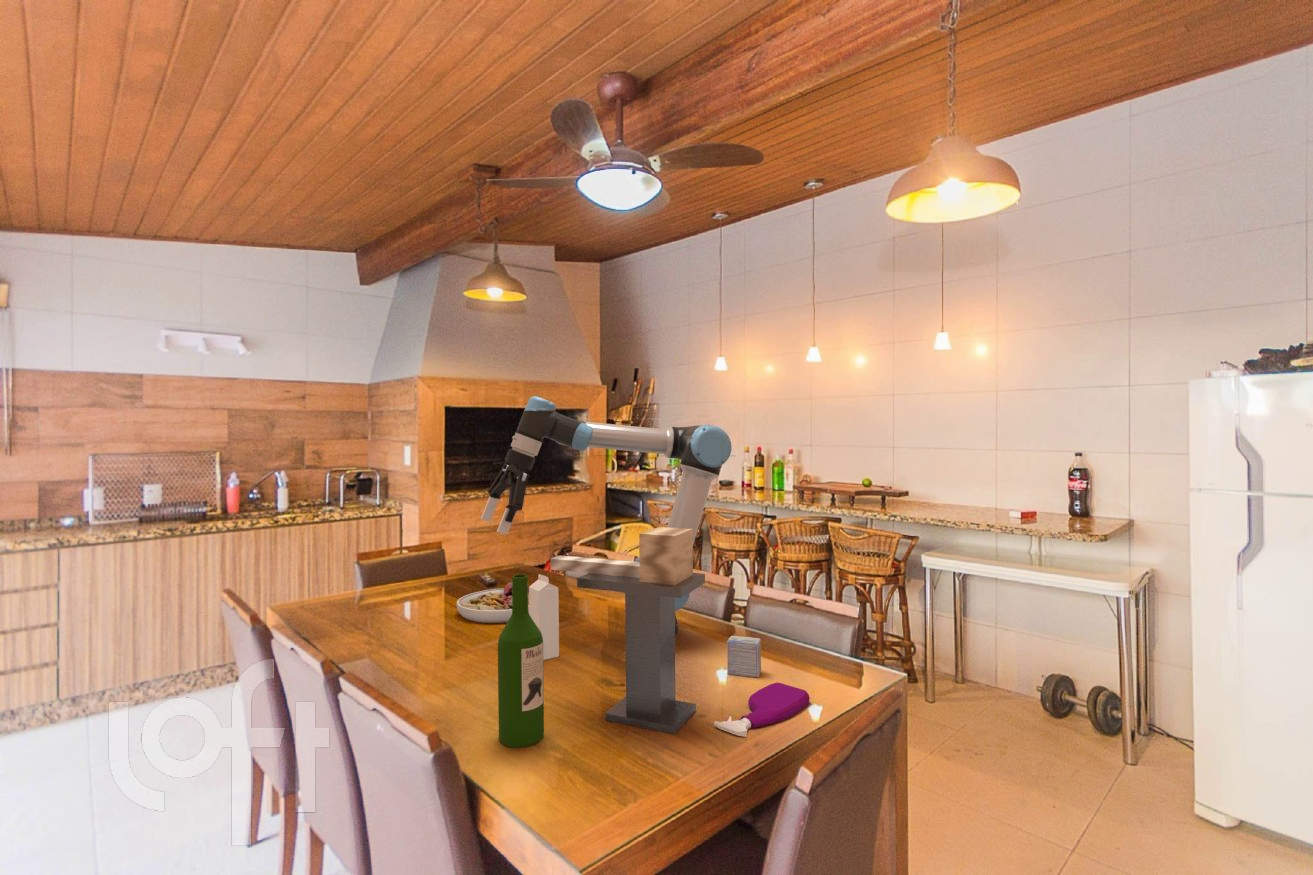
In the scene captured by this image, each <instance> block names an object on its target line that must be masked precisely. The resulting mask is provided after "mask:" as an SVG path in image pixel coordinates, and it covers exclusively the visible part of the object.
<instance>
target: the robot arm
mask: <svg viewBox="0 0 1313 875" xmlns="http://www.w3.org/2000/svg"><path fill="white" fill-rule="evenodd" d="M556 409H557V405H556V403H554V402H552V401H550V400H547V399H545V398H542V397H540V396H536V395H535V396H531V397H530V398H529V399H528V401H527V404H526V406H525V408H524V410H523V413H522V416H521V418H520V420H519V423H518V426H517V429H516V431H515V434H514V435H513V436H512V437H511V439H512V442H511V443H510V447H512V448H509V449H508V450H507V453H506V456H505V457H504V460H505V462H506V463H508V464H506V463H503V465H502V467H501V469H500V471H499V473H498V474H497V476H496V477H495V479H494V480H493V482H492V484H491V485H490V487H489V488H488V490H487V493H489V495H488V499H487V502H486V505H485V507H484V509H483V512H482V515H481V517H480V520H482V521H485V522H489V523H491V521H492V519H493V516H494V514H495V511H496V509H497V506H498V504H499V501H500V500H501V496H502V494H503V493H504V492H505V491H506V490H507V489H508V487H509V492H508V494H509V495H508V504H507V505H506V506H505V509H504V512H503V515H502V517H501V520H500V523H499V525H498V527H497V530H496V532H497V533H499V534H504V535H506V536H508V534H509V531H510V529H511V527H512V524H513V521H514V518H515V517H516V514H517V512H518V511H522V509H523V507H524V500H525V496H526V490H527V489H526V488H527V485H528V482H529V478H530V474H527V473H526V470H527V471H532V469H533V467H534V464H535V461H536V458H535V456H536V457H537V456H538V454H539V452H540V449H541V447H542V444H543V441H544V438H547V439H548V440H552V441H555V443H557V444H558V445H560V446H566V447H568V448H572V449H573V450H578V451H580V452H584V451H586V450H587V449H588V448H594V449H603V450H604V449H605V450H614V451H617V450H618V451H624V452H625V451H626V452H628V451H629V452H635V453H647V454H659V455H663V456H665V458H666V459H675V460H680V463H679V467H680V468H681V470H682V476H681V478H680V482H679V484H678V485H679V486H678V489H677V492H676V496H675V499H674V502H673V506H672V509H671V512H670V516H669V520H668V523H667V526H666V527H667V528H684V529H693V545H694V543H695V540H696V537H697V534H698V530H699V526H700V522H701V519H702V516H703V513H704V508H705V505H706V502H707V498H708V494H709V492H710V489H711V486H712V485H711V484H712V481H713V480H715V479H717V478H719V476H720V472H721V471H722V470H721V469H722V466H723V465H724V464H725V463H727V461H728V460H729V458H730V456H731V454H732V441H731V438H730V437H729V435H728V433H727V432H726V431H725V430H724V429H722V428H721V427H719V426H715V425H713V424H702V425H691V426H668V427H667V428H655V427H645V426H634V425H626V424H625V425H624V424H616V423H615V424H612V423H603V422H594V421H582V420H577V419H574V418H571V417H570V416H566V415H564V414H560V412H558V411H556ZM634 562H639V557H638V556H637V557H636V558H635V559H634ZM690 595H691V592H690V593H689V594H687V595H685V596H684V597H682V598H675V612H677V611H679V610H681V609H682V608H683V607H684V606H685V605H686V604H687V603H688V601H689V598H690ZM679 629H680V628H679V621H678V620H677V615H676V614H675V636H676V635H677V634H678V633H679V631H680V630H679Z"/></svg>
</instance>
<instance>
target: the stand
mask: <svg viewBox="0 0 1313 875" xmlns="http://www.w3.org/2000/svg"><path fill="white" fill-rule="evenodd" d="M704 584H706V573H701V572H693V575H692V576H690V577H689V578H687V579H685V580H683V581H682V582H680V583H678V584H676V585H668V584H658V583H648V582H640V578H634V577H623V576H613V575H602V574H592V573H585V574H584V575H581V576H579V577H577V578H576V587H577V588H580V589H587V590H588V589H590V590H600V591H608V592H619V593H624V609H625V610H624V611H625V615H624V616H625V617H624V618H625V621H624V622H625V624H624V625H625V627H624V628H625V696H624V697H623V698H622V699H621V700H620V701H618V702H617V703H615V705H613V706H612V707H611V708H610V709H608V710H607V711H606V712H605V715H604V720H605V721H607V722H611V723H612V722H613V723H617V724H621V725H626V726H632V727H636V728H642V729H647V730H651V731H657V732H662V733H666V734H672V735H676V734H677V733H678V731H679V730H680V729H681V728H682V727H683V726H684V725H685V723H686V722H687V721H688V720H689V719H691V717H692V716H693V715H694V713H696V712H697V705H696V703H695V702H694V703H693V702H687V701H682V700H677V699H676V635H675V615H676V611H675V598H682V597H684V596H685V595H687V594H689V593H690V594H691V593H692V592H694V591H695V590H696V589H698V588H699V587H701V586H702V585H704Z"/></svg>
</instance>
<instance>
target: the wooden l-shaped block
mask: <svg viewBox="0 0 1313 875" xmlns="http://www.w3.org/2000/svg"><path fill="white" fill-rule="evenodd" d="M638 535H639V536H638V537H639V538H638V539H639V540H638V543H639V544H638V545H639V547H638V548H639V553H638V554H639V555H638V556H639V562H635V561H629V560H620V559H618V560H617V559H607V558H594V557H581V556H570V555H569V556H568V555H557V556H554V557H551V558H549V560H550V561H549V562H550V563H549V564H550V565H549V566H550V570H551V571H560V572H561V571H562V572H571V573H572V572H573V573H582V574H583V573H584V574H588V573H592V574H602V575H613V576H623V577H634V578H640V582H648V583H658V584H668V585H676V584H678V583H680V582H682V581H683V580H685V579H687V578H689V577H690V576H692V575H693V573H694V557H693V556H694V555H693V553H694V551H693V550H694V549H693V547H694V544H693V529H684V528H667V526H666V527H664V526H662V527H661V526H658V527H656V528H652V529H649V530H646V531H643V532H641V533H639V534H638Z"/></svg>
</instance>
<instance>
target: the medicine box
mask: <svg viewBox="0 0 1313 875" xmlns="http://www.w3.org/2000/svg"><path fill="white" fill-rule="evenodd" d="M761 647H762V640H761V638H760V637H759V638H758V637H751V636H739V635H738V636H737V635H731V636H730V637H728V640H727V641H726V649H727V650H726V652H727V653H726V654H727V656H726V657H727V658H726V660H727V662H726V664H727V665H726V667H727V668H726V669H727V672H726V673H727V675H733V676H743V677H749V678H750V677H752V678H759V677H760V674H761V672H762V648H761Z"/></svg>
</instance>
